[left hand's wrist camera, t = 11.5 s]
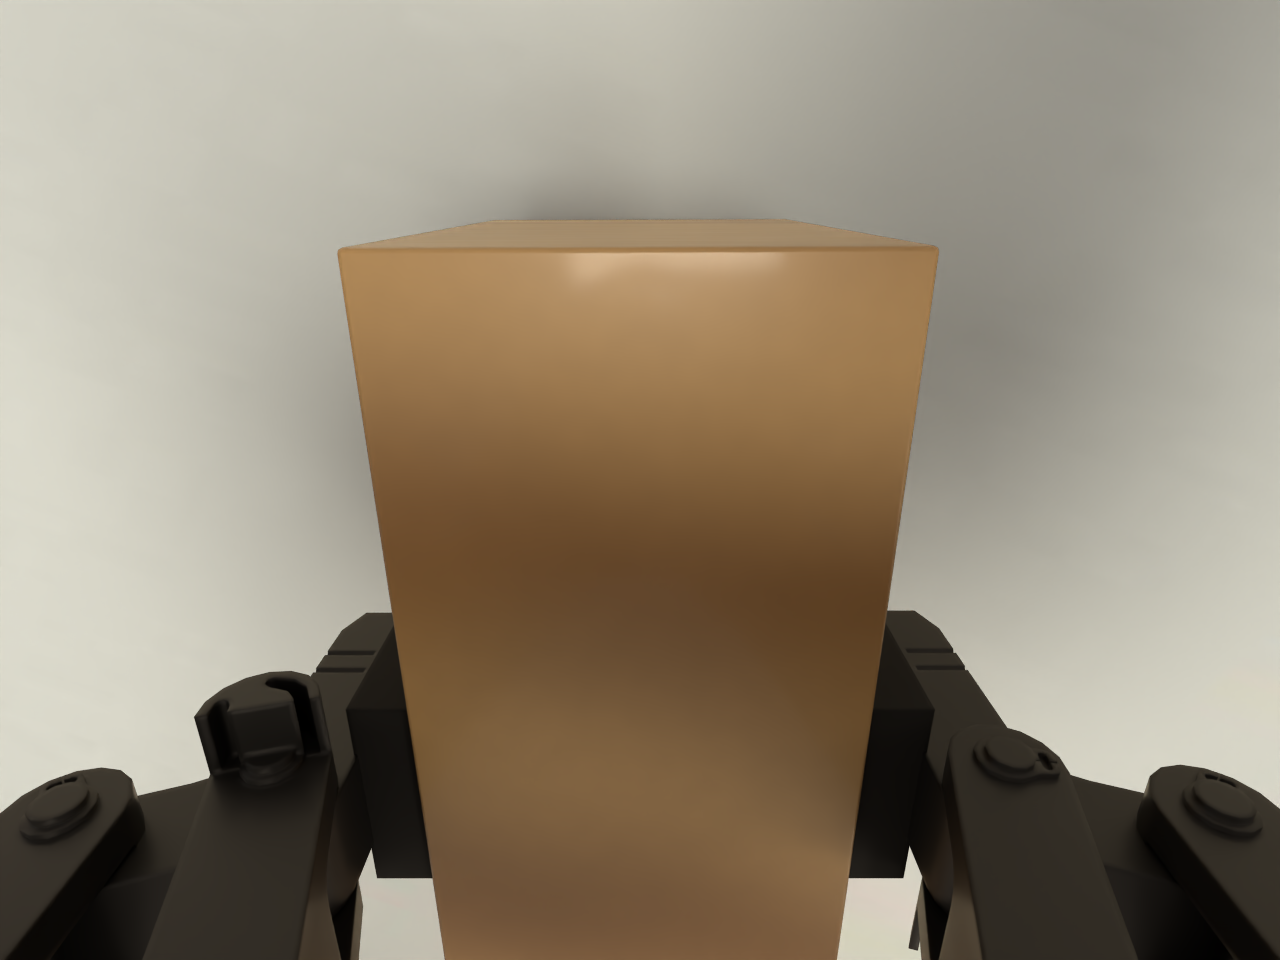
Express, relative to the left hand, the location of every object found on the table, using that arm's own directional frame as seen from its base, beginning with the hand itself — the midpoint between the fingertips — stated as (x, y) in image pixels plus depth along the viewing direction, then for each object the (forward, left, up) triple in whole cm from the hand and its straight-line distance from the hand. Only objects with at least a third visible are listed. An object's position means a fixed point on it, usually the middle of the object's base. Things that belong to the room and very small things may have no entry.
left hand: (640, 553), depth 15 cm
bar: (+10, +30, -1) cm, 32 cm away
